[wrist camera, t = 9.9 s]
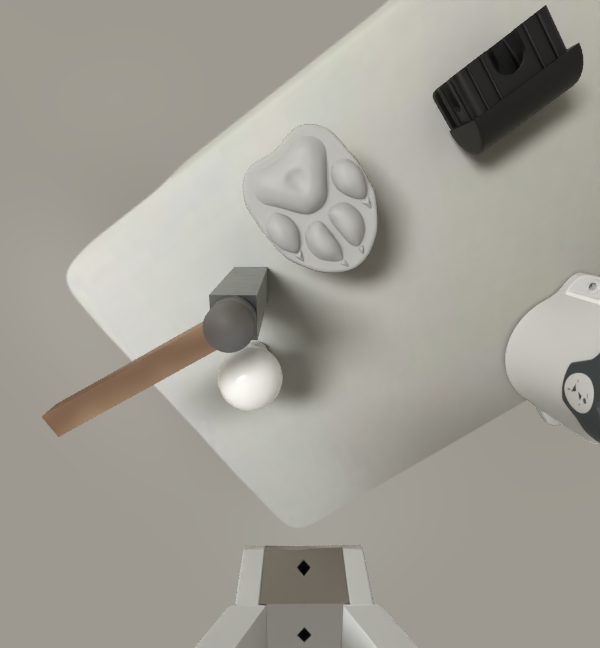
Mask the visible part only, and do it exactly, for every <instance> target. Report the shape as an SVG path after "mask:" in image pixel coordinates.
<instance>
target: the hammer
mask: <svg viewBox="0 0 600 648" xmlns="http://www.w3.org/2000/svg"><path fill="white" fill-rule="evenodd" d="M256 322H257V316H256V312H255V310H254V308H253V306H252V305H251V304H250V303H249V302H248V301H247V300H245V299H243V298H241V297H237V296H228V297H224V298H222V299H220V300H218V301H217V302H216V303H215V304H214V305H213V307H212V308H211V309H210V311H209V312H208V313H207V315H206V316H205V318H204V321H203V322H202V323H200V324H198V325H196V326H194V327H193V328H191V329H189V330H187V331H186V332H184V333H182V334H180V335H178V336H177V337H175V338H173V339H171V340H170V341H168V342H166V343H164V344H162V345H161V346H159V347H157V348H155V349H154V350H152V351H150V352H148V353H146V354H145V355H143V356H141V357H139V358H138V359H136V360H134V361H132V362H130V363H129V364H127V365H125V366H123V367H122V368H120V369H118V370H116V371H114V372H113V373H111V374H109V375H107V376H106V377H104V378H102V379H100V380H98V381H97V382H95V383H93V384H92V385H90V386H88V387H86V388H84V389H82V390H81V391H79V392H77V393H75V394H74V395H72V396H70V397H68V398H66V399H65V400H63V401H61V402H59V403H58V404H56V405H55V406H54V407H52V408H51V409H50V410H49V411H48V412H47V413H45V414H44V415H43V416H42V418H43V419H44V420H45V421H46V422H47V424H48V425H49V426H50V427H51V428H52V430H53V431H54V432H55V433H56V434H57V436H58V437H59V436H61V435H63V434H65V433H66V432H68V431H70V430H72V429H74V428H76V427H77V426H79V425H81V424H83V423H85V422H86V421H88V420H90V419H92V418H94V417H96V416H97V415H99V414H101V413H103V412H105V411H107V410H108V409H110V408H112V407H114V406H116V405H117V404H119V403H121V402H123V401H125V400H126V399H128V398H130V397H132V396H133V395H136V394H137V393H139V392H141V391H143V390H145V389H146V388H148V387H150V386H152V385H154V384H156V383H157V382H159V381H161V380H163V379H165V378H167V377H168V376H170V375H172V374H174V373H176V372H177V371H179V370H181V369H183V368H185V367H187V366H188V365H190V364H192V363H194V362H196V361H197V360H199V359H201V358H203V357H205V356H207V355H208V354H210V353H212V352H214V351H216V350H219V351H221V352H226V353H233V352H237V351H240V350H242V349H243V348H245V347H246V346H247V345H248V344H249V343H250V341H251V339H252V337H253V334H254V330H255V327H256Z"/></svg>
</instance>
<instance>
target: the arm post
mask: <svg viewBox="0 0 600 648" xmlns="http://www.w3.org/2000/svg"><path fill="white" fill-rule="evenodd" d="M228 296H237V297H241V298H243V299H245V300H247V301H248V302H249V303H250V304H251V305H252V306H253V308H254V310H255V312H256V316H257V322H256V327H255V330H254V334H253V337H252V339H251V340H258V336H259V332H260V328H261V324H262V320H263V316H264V312H265V308H266V304H267V300H268V289H267V267H234V268H233V269H232V270H231V272H230V273H229V274H228V275H227V276H226V277H225V278H224V279H223V280H222V282H221V283H220V284H219V285H218V286H217V287H216V288H215V289H214V290H213V291H212V293H211V294H210V295H209V300H210V309H211V308H212V307H213V305H214V304H215V303H216V302H217V301H218V300H220V299H222V298H224V297H228Z"/></svg>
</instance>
